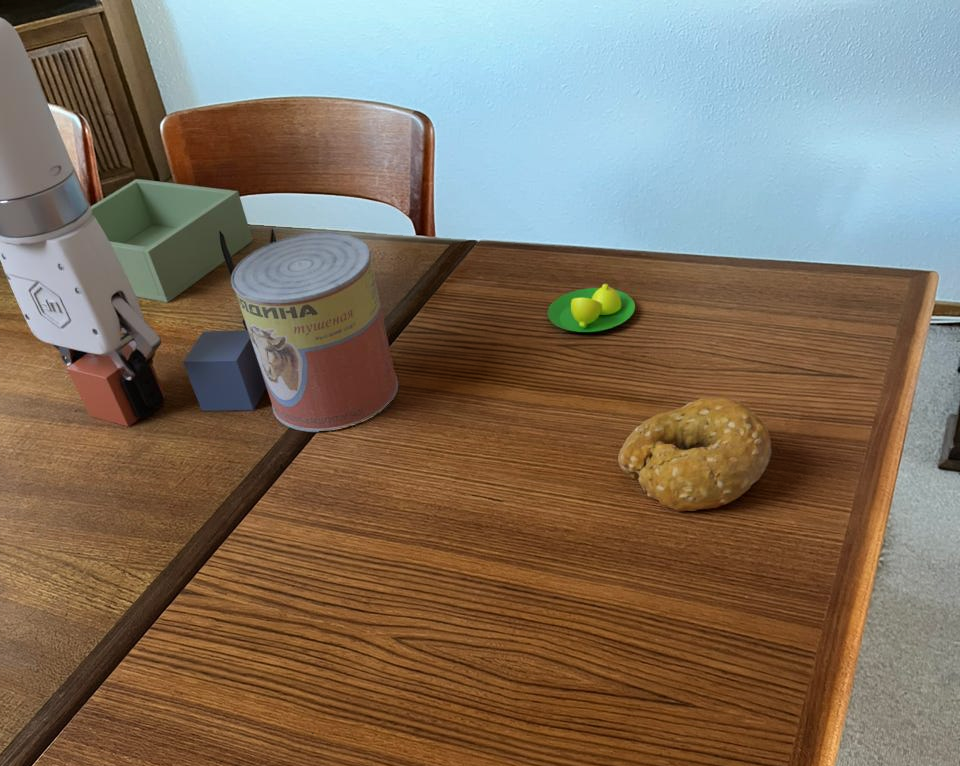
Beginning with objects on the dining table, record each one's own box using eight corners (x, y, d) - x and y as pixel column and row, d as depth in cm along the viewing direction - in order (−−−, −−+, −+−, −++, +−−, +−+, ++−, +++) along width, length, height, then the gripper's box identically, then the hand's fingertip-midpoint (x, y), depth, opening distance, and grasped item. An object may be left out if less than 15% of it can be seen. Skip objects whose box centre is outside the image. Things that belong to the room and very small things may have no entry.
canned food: (246, 411, 85) (201, 282, 77) (332, 349, 91) (299, 223, 82) (338, 446, 80) (301, 312, 71) (423, 378, 86) (399, 246, 77)
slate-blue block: (201, 411, 86) (182, 361, 83) (220, 380, 90) (202, 331, 86) (253, 410, 85) (236, 360, 82) (271, 379, 89) (255, 329, 85)
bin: (66, 283, 108) (43, 234, 104) (153, 226, 116) (136, 178, 112) (167, 302, 102) (148, 251, 98) (253, 240, 110) (238, 190, 106)
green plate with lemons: (621, 341, 86) (620, 312, 84) (536, 334, 88) (533, 305, 86) (645, 297, 90) (645, 268, 88) (563, 291, 93) (561, 263, 91)
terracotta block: (89, 416, 88) (65, 368, 85) (127, 387, 91) (106, 339, 87) (128, 427, 86) (106, 378, 83) (166, 397, 89) (145, 348, 85)
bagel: (649, 422, 77) (650, 369, 73) (786, 452, 72) (794, 397, 69) (595, 496, 71) (592, 443, 68) (739, 533, 67) (745, 478, 63)
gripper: (-72, 214, 77) (33, 409, 90) (78, 238, 70) (168, 446, 83) (0, 175, 81) (90, 367, 94) (148, 194, 74) (223, 398, 87)
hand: (126, 402), depth 88 cm, fingers open, 5 cm apart
